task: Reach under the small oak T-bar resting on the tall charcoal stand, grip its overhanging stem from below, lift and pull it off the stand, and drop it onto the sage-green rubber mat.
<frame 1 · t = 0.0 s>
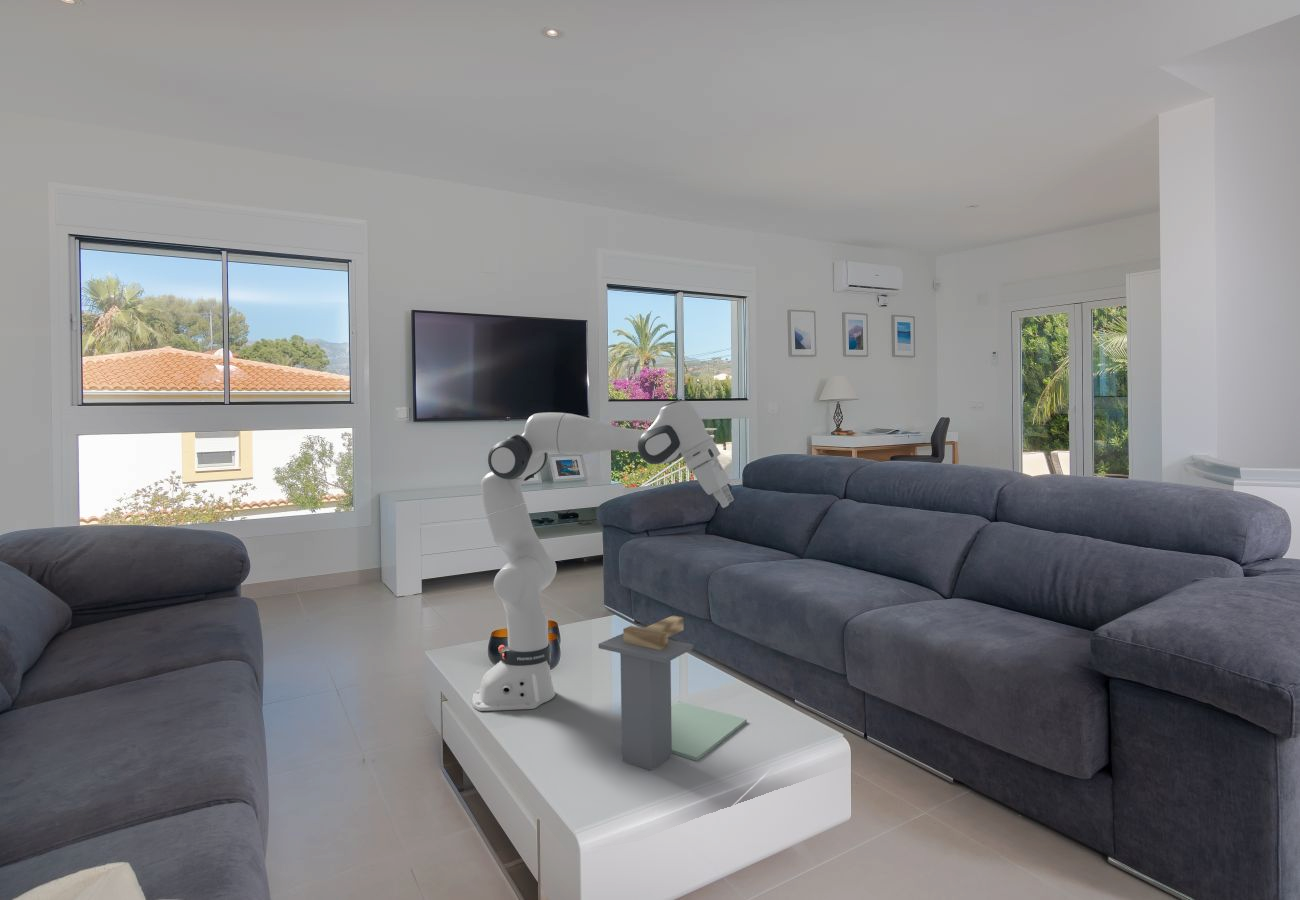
hand: (728, 504, 180), 54 cm above the table, tool tilted 30°, fingers open, 8 cm apart
stand: (651, 755, 160), on the table
mat: (687, 730, 172), on the table
t bar: (649, 642, 158), point 26 cm above the table, touching stand
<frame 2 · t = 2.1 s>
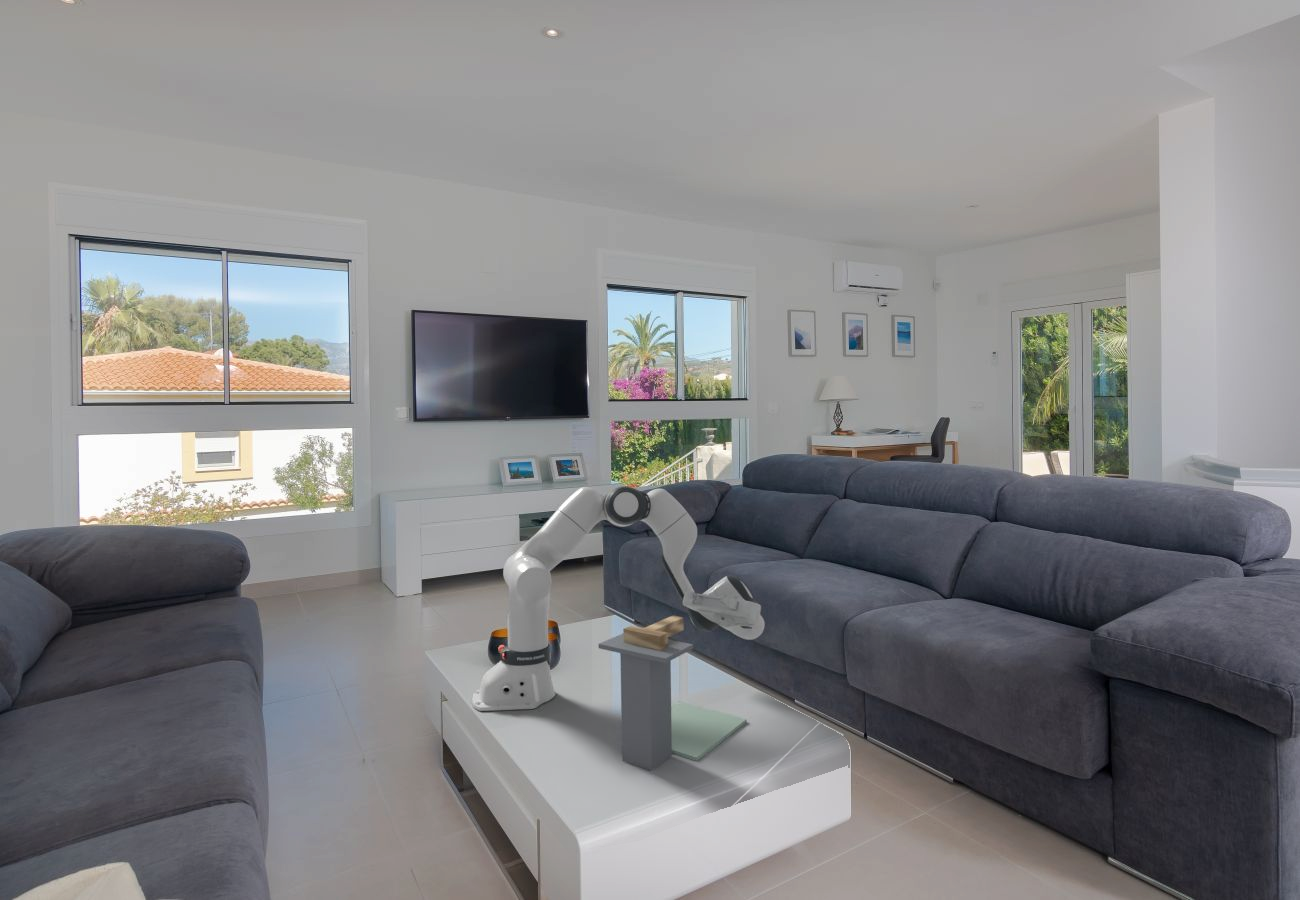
hand: (706, 597, 179), 31 cm above the table, tool pointing upward, fingers open, 8 cm apart
nothing on the table moved.
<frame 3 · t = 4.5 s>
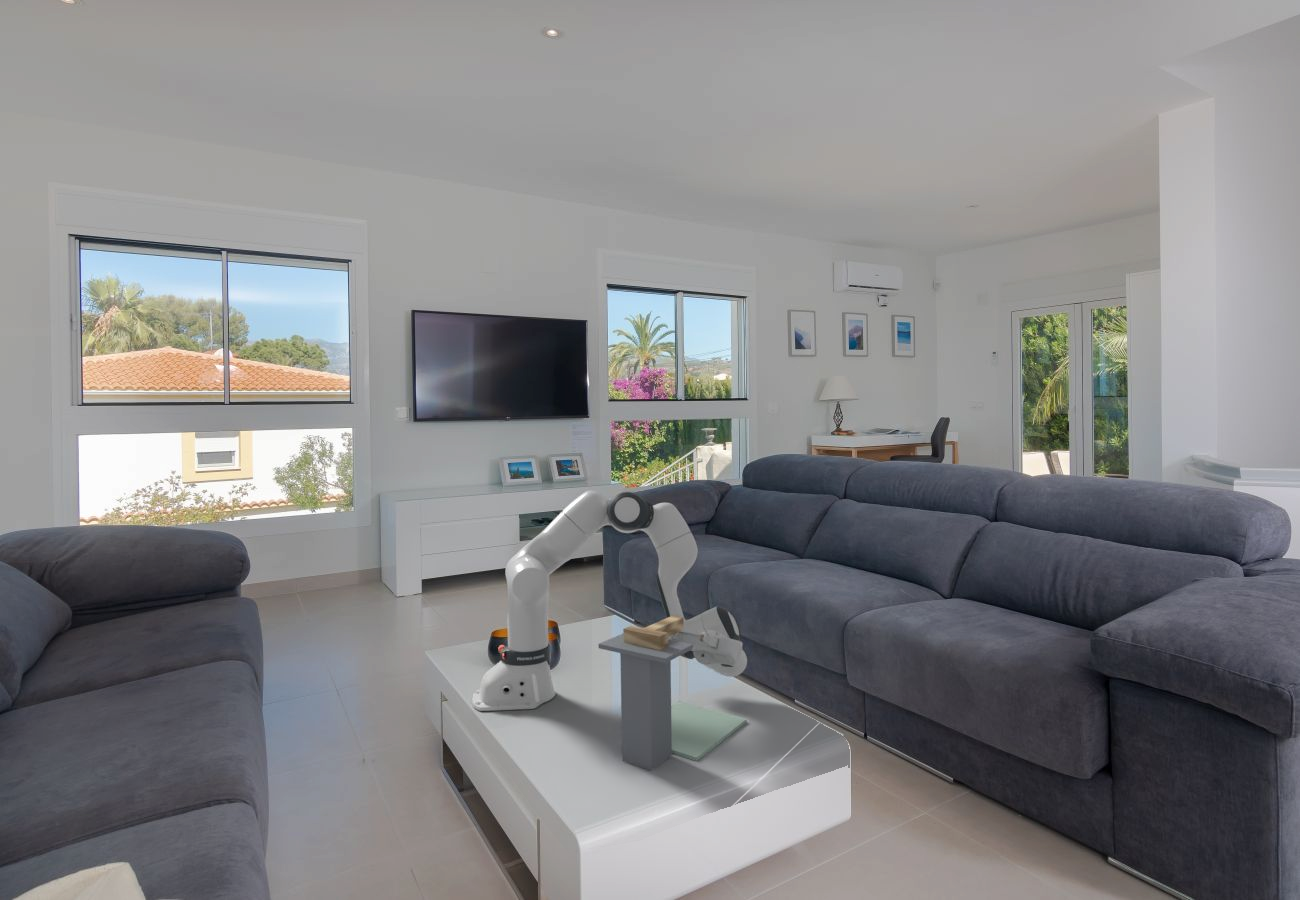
hand: (685, 634, 171), 24 cm above the table, tool pointing upward, fingers open, 8 cm apart
nothing on the table moved.
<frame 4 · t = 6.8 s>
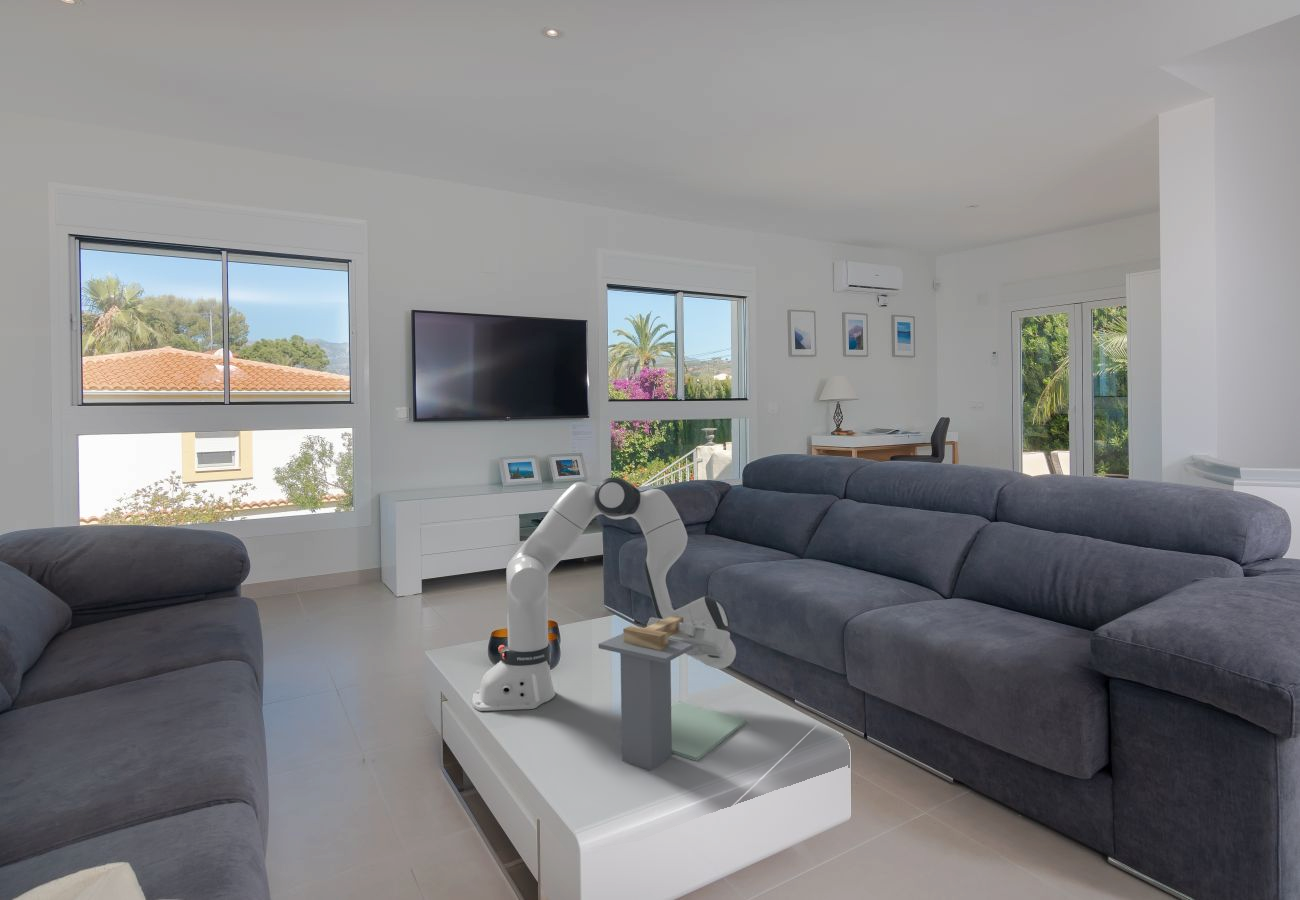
hand: (670, 624, 165), 28 cm above the table, tool pointing upward, fingers closed on t bar, 3 cm apart
t bar: (649, 642, 158), point 26 cm above the table, touching gripper, stand
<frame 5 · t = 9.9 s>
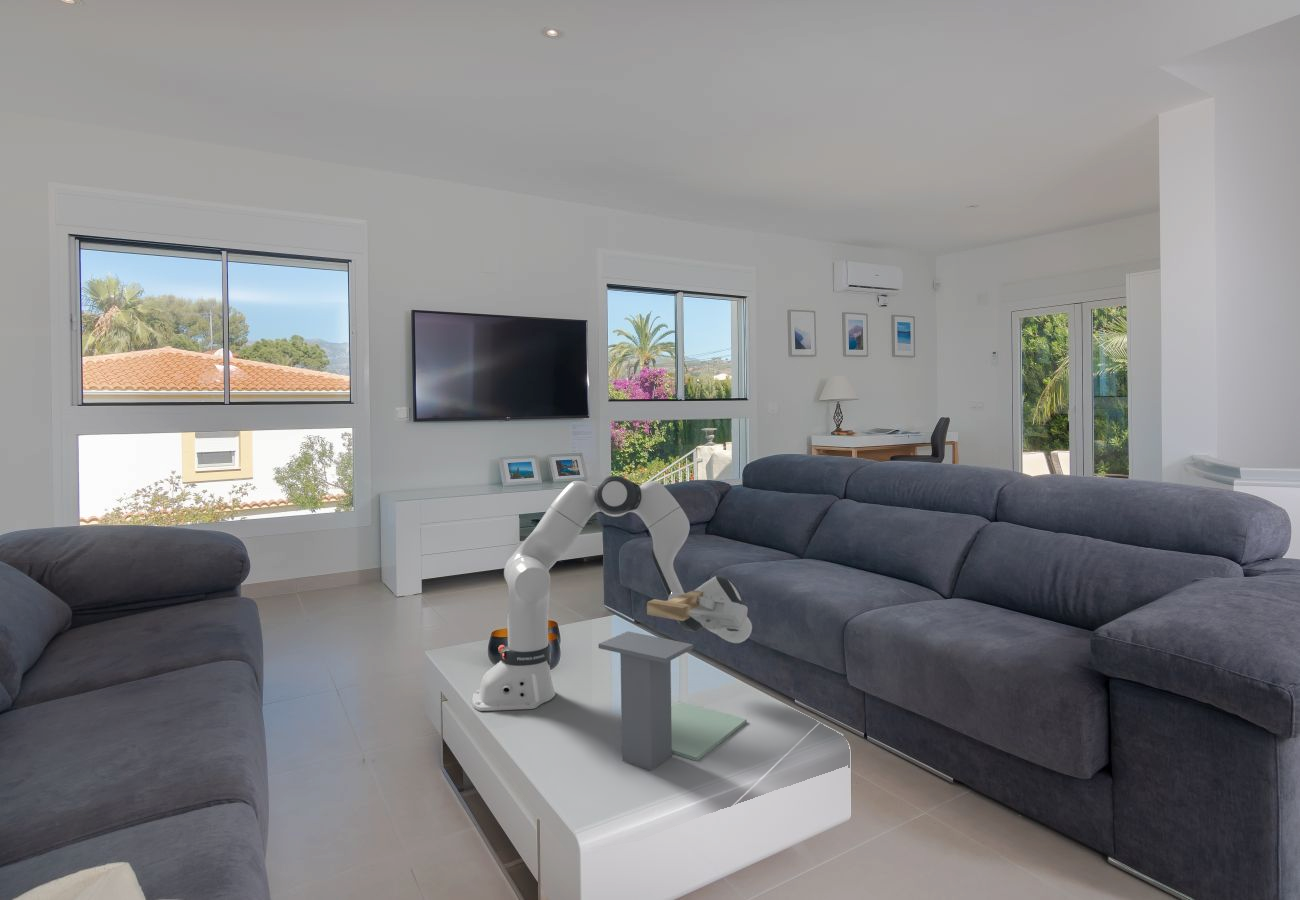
hand: (691, 598, 173), 32 cm above the table, tool pointing upward, fingers closed on t bar, 3 cm apart
t bar: (671, 614, 166), point 30 cm above the table, touching gripper
when the fingers open (19 cm above the table, at t = 13.4 s): t bar drops 17 cm, resting on mat.
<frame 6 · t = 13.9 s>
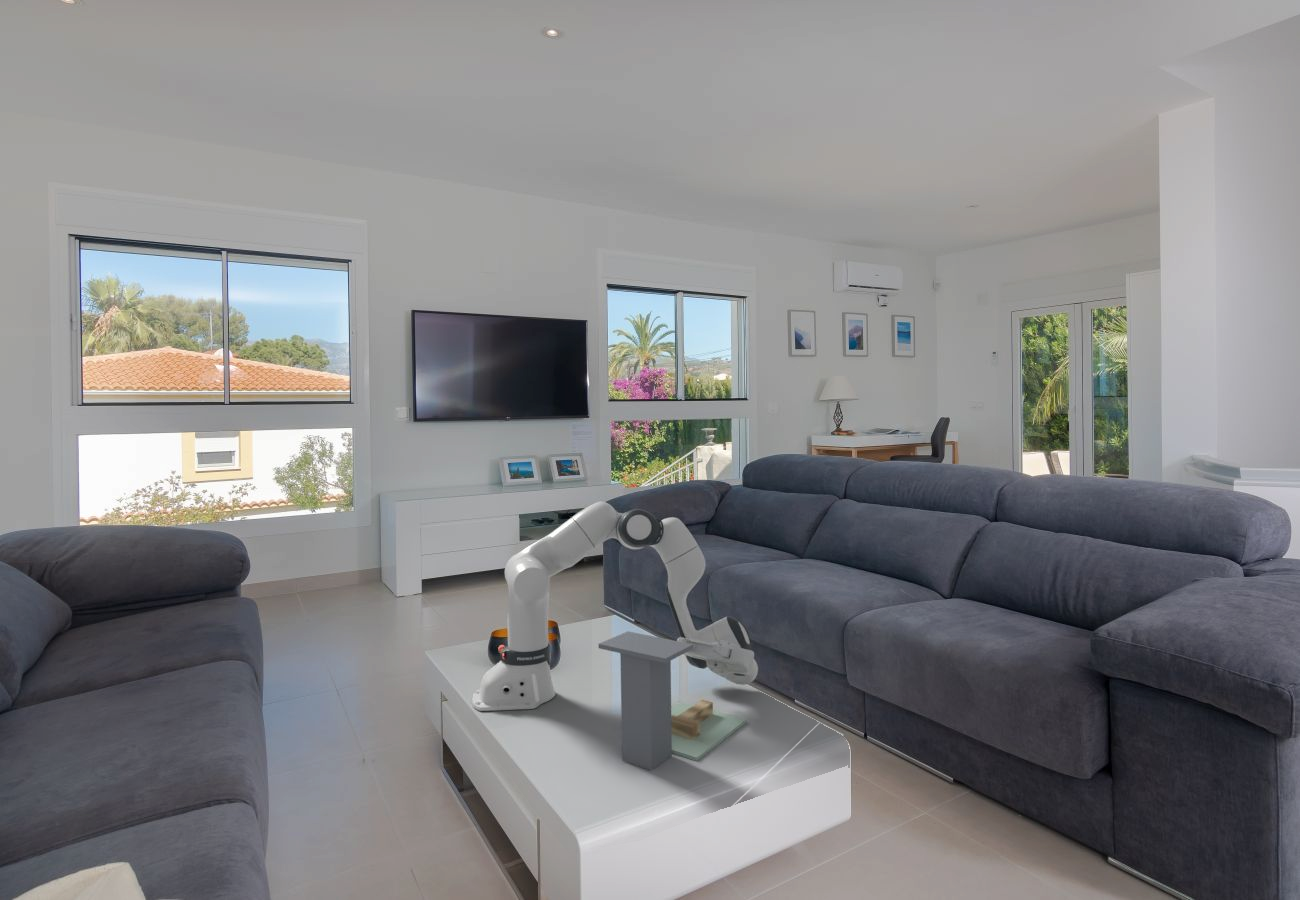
hand: (699, 644, 176), 19 cm above the table, tool pointing upward, fingers open, 8 cm apart
t bar: (682, 729, 171), point 1 cm above the table, touching mat
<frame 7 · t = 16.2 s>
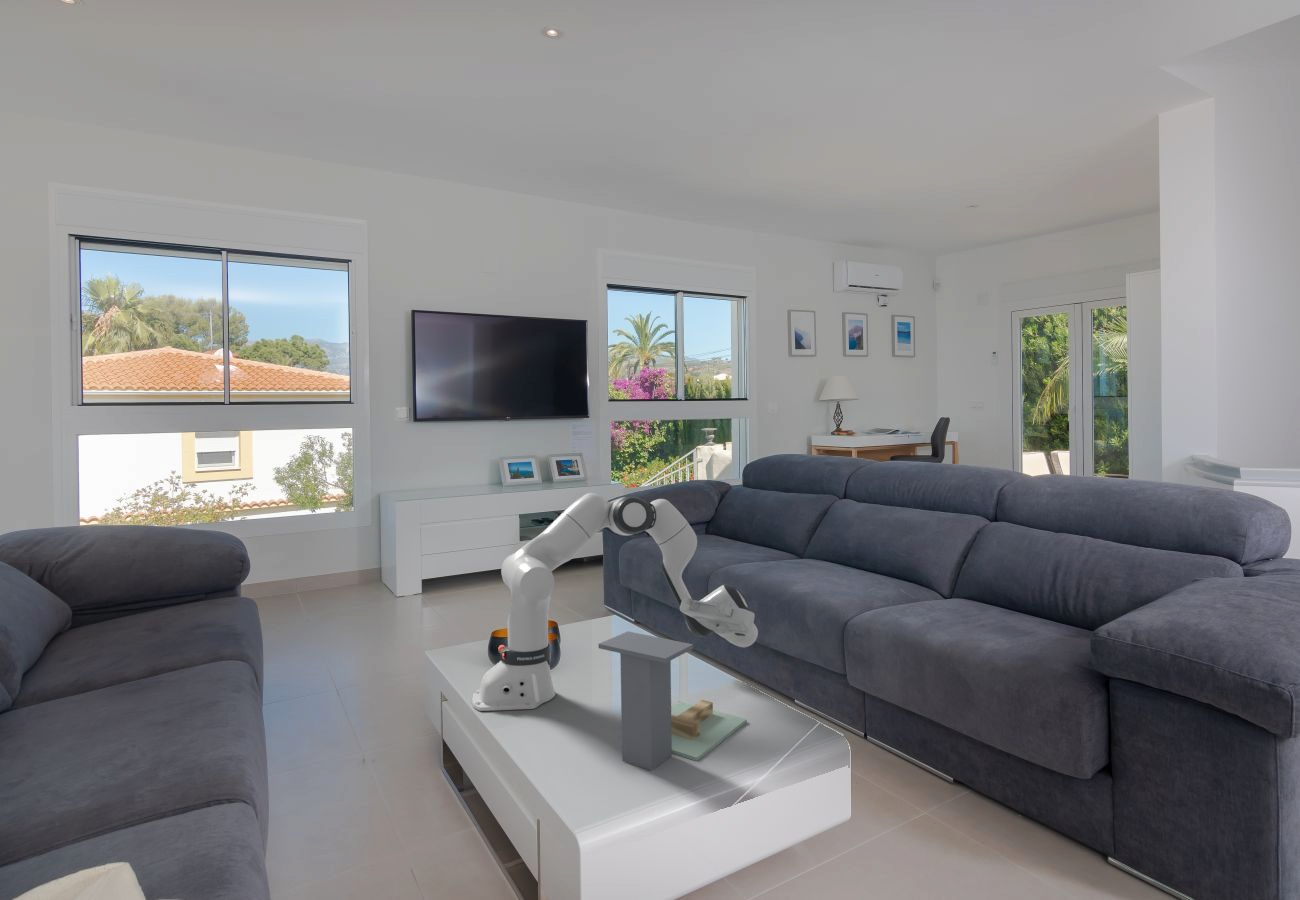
hand: (702, 603, 186), 27 cm above the table, tool pointing upward, fingers open, 8 cm apart
nothing on the table moved.
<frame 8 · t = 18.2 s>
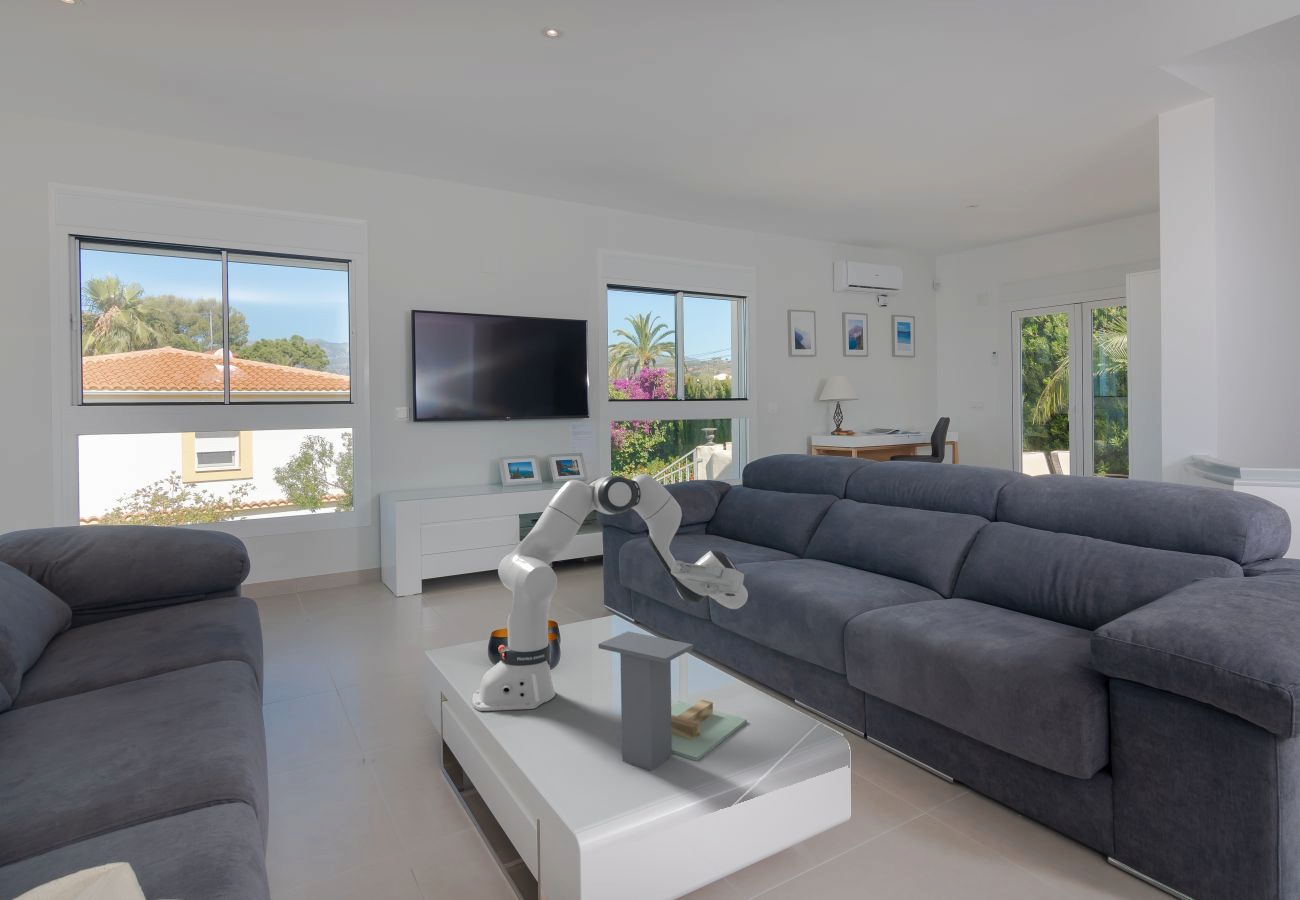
hand: (693, 565, 191), 36 cm above the table, tool pointing upward, fingers open, 8 cm apart
nothing on the table moved.
at the end: t bar inside the target area on the mat (2.1 cm from its centre), point 0.8 cm above the mat's base; the gripper is holding nothing; t bar moved 28.6 cm from its start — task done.
